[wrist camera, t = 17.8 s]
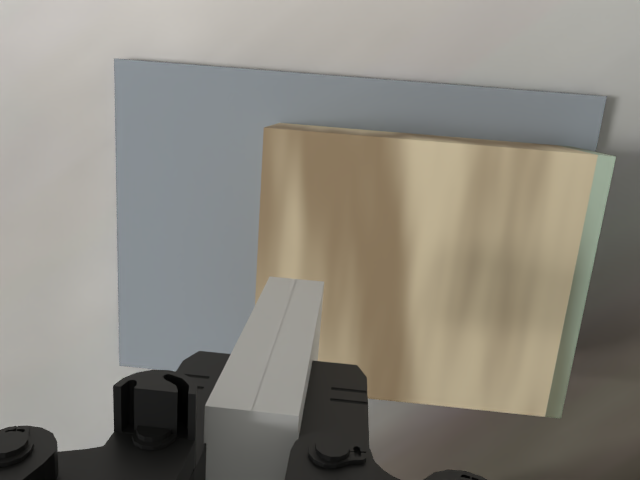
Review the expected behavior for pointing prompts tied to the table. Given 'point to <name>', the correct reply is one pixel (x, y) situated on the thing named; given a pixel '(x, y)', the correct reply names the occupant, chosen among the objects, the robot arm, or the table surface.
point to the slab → (438, 258)
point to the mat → (259, 178)
